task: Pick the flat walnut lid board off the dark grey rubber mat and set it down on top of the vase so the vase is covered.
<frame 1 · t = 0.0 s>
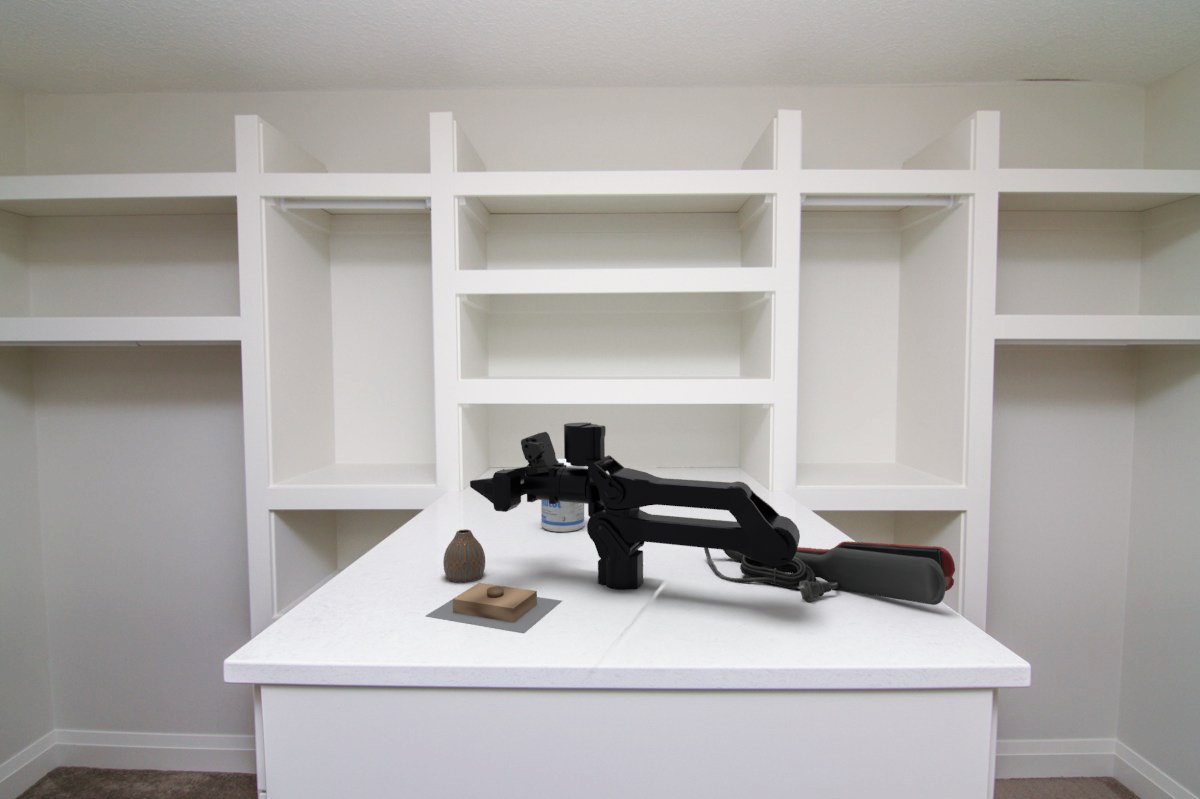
hand: (485, 478, 111), 17 cm above the table, tool horizontal, fingers open, 9 cm apart
supplement tub: (563, 528, 140), on the table
hair straightener: (822, 585, 105), on the table
mat: (495, 614, 93), on the table
vase: (465, 583, 106), on the table
lid: (495, 608, 93), point 1 cm above the table, touching mat
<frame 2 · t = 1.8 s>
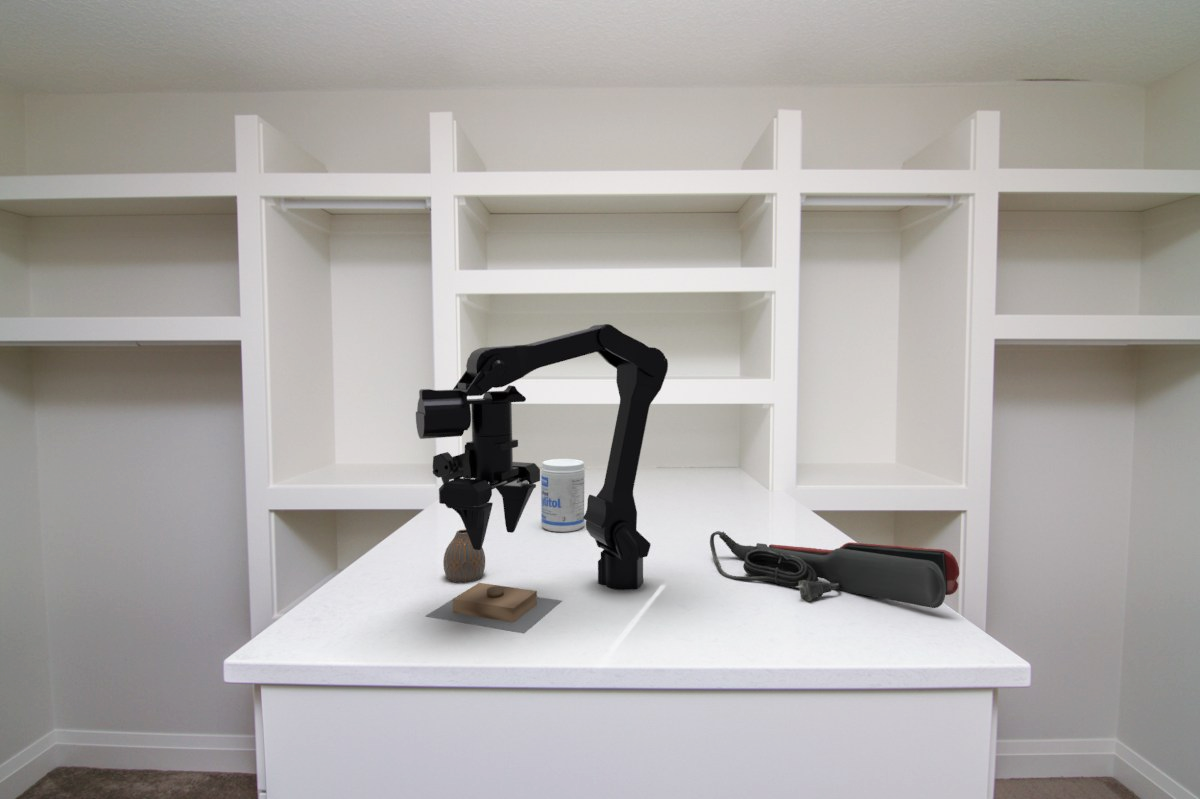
hand: (494, 540, 92), 11 cm above the table, tool pointing down, fingers open, 9 cm apart
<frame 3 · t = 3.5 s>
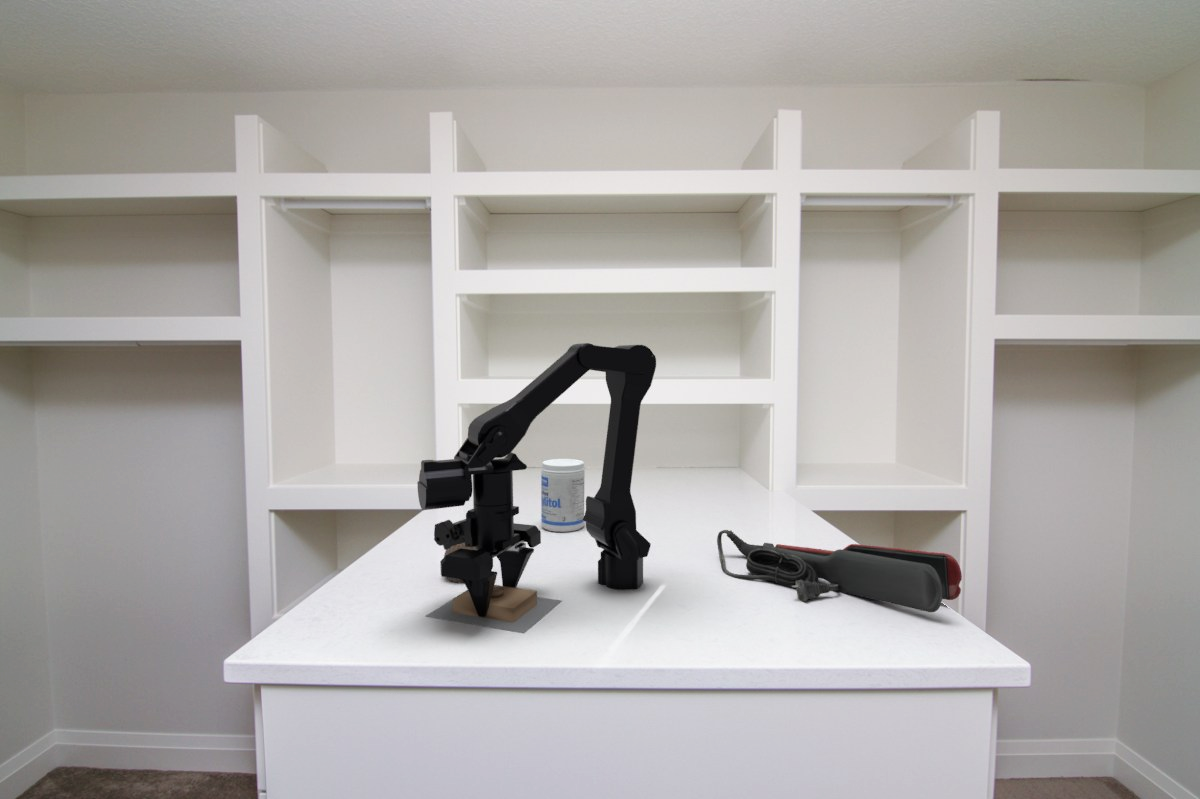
hand: (495, 606, 93), 1 cm above the table, tool pointing down, fingers closed on lid, 7 cm apart
lid: (495, 608, 93), point 1 cm above the table, touching gripper, mat
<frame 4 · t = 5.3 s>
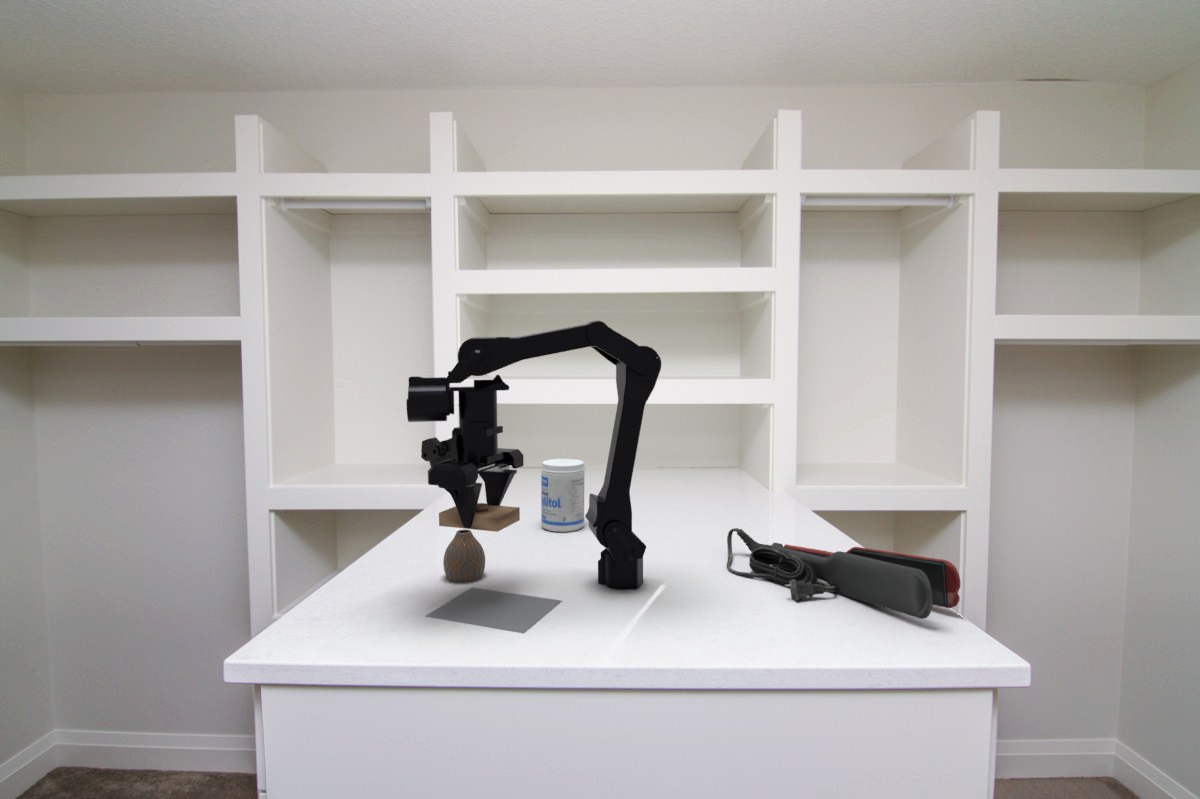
hand: (480, 521, 97), 13 cm above the table, tool pointing down, fingers closed on lid, 7 cm apart
lid: (480, 522, 97), point 12 cm above the table, touching gripper
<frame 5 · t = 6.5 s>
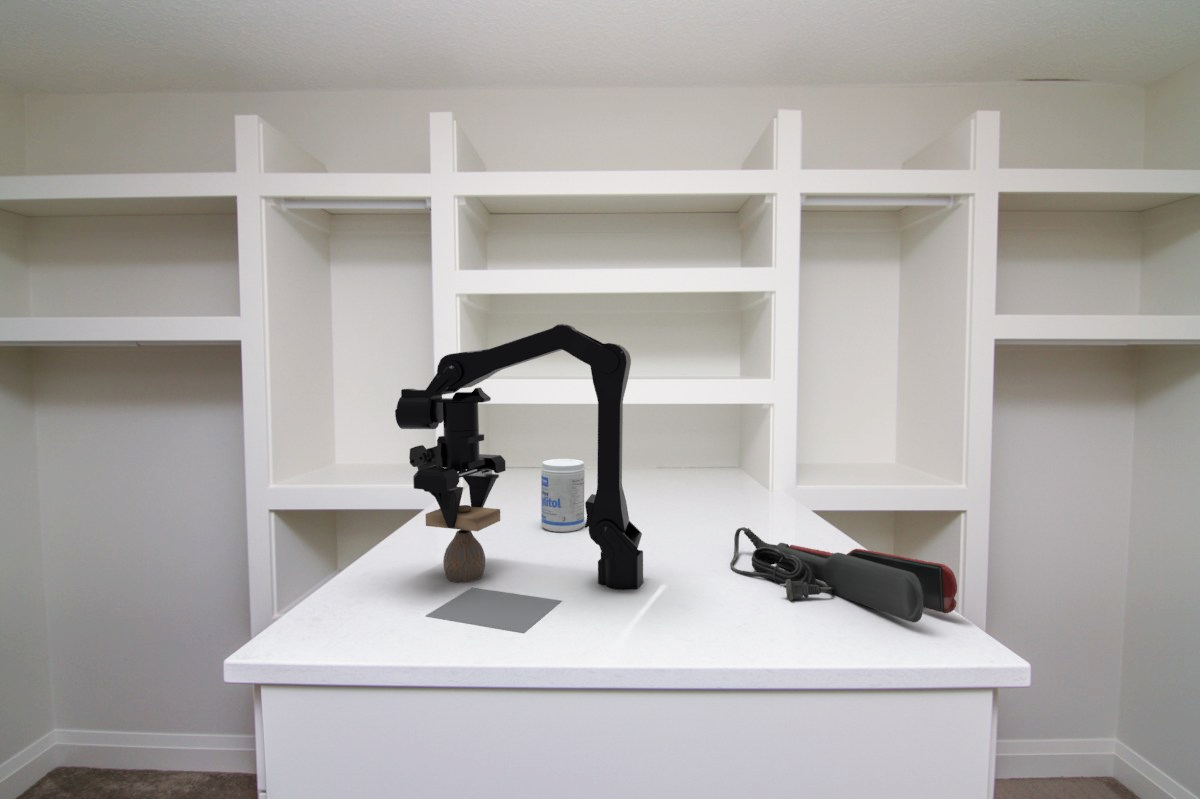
hand: (463, 522, 106), 10 cm above the table, tool pointing down, fingers closed on lid, 7 cm apart
lid: (463, 523, 106), point 10 cm above the table, touching gripper
when the fingers open (10 cm above the table, at t = 7.3 s): lid drops 1 cm, resting on vase.
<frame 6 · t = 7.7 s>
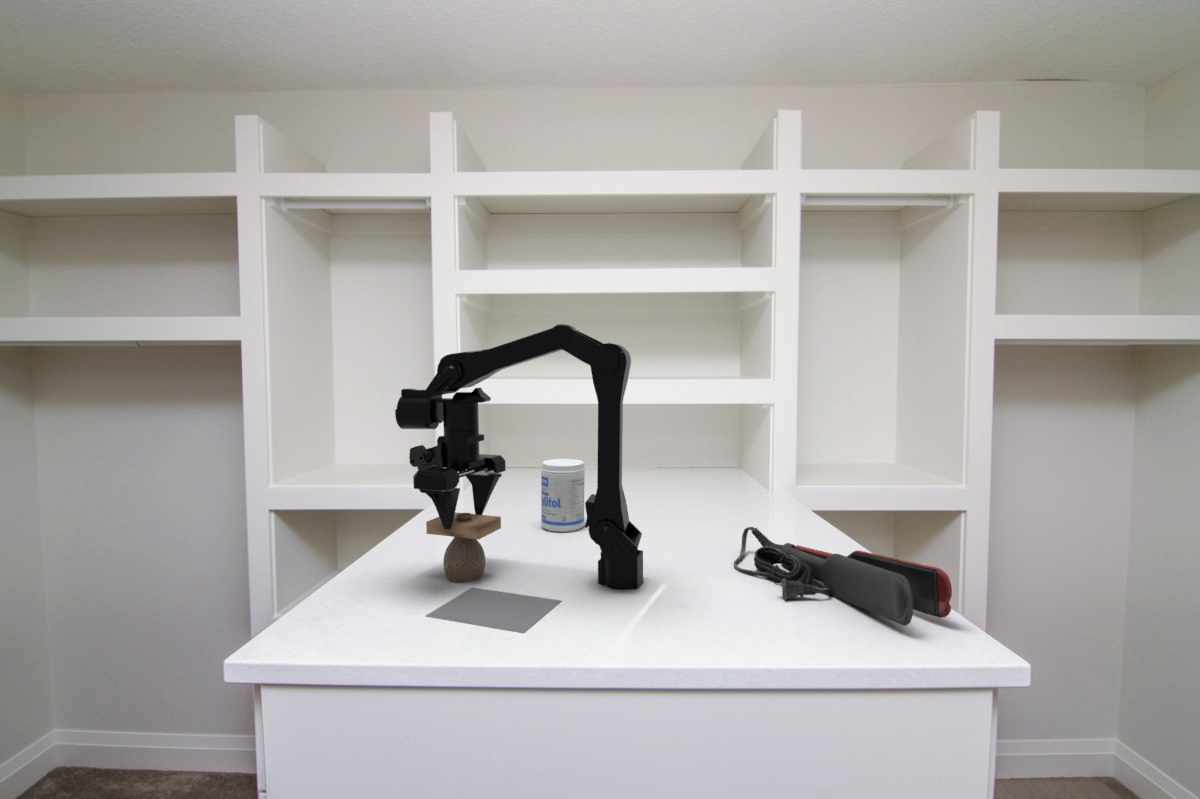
hand: (463, 522, 106), 10 cm above the table, tool pointing down, fingers open, 9 cm apart
vase: (465, 583, 106), on the table, touching lid
lid: (464, 530, 106), point 9 cm above the table, touching vase
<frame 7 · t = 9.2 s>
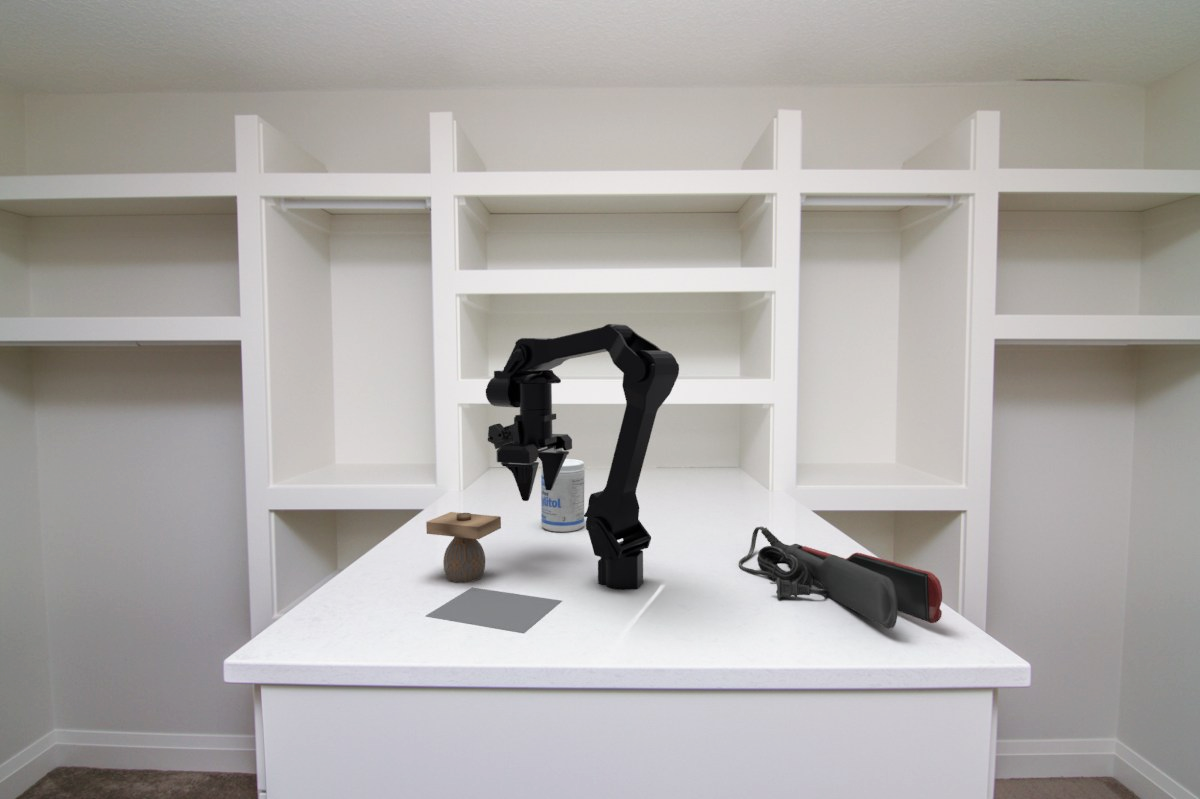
hand: (537, 495, 114), 13 cm above the table, tool pointing down, fingers open, 9 cm apart
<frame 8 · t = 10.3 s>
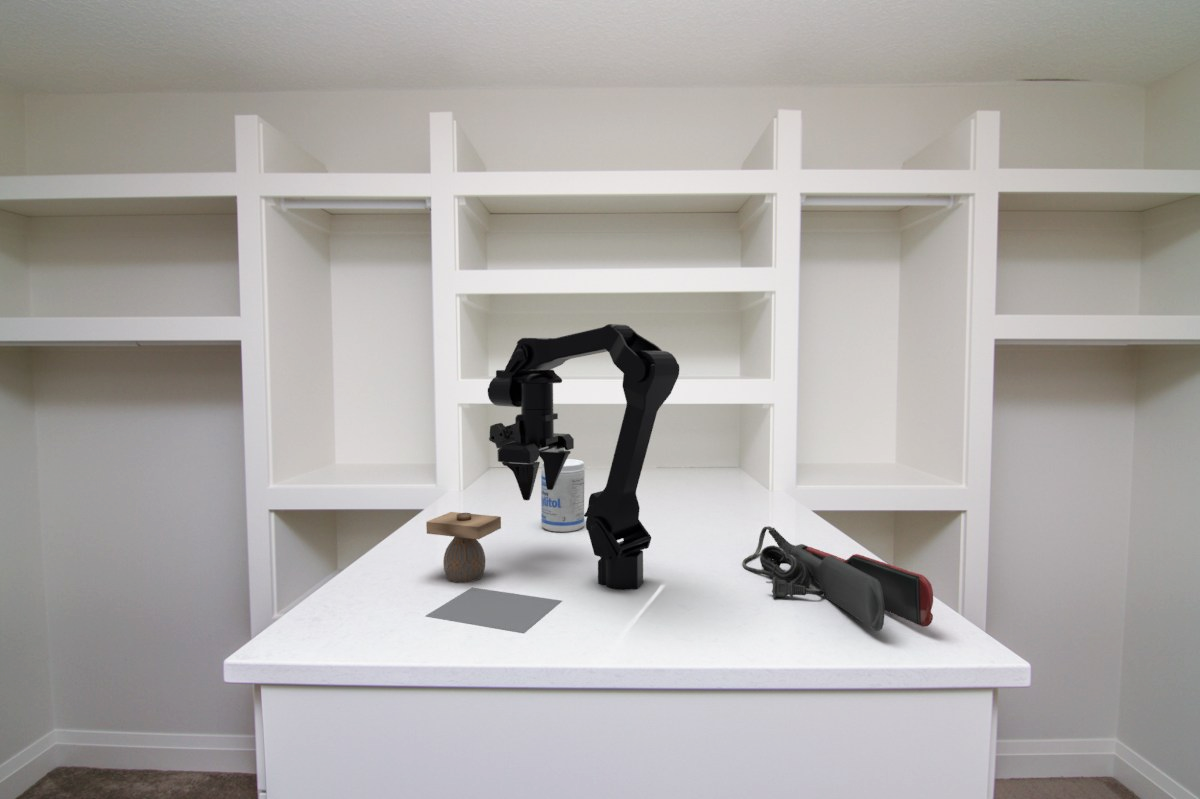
hand: (538, 494, 114), 13 cm above the table, tool pointing down, fingers open, 9 cm apart
at the end: lid 0.2 cm off-centre on the vase, point 9.0 cm above the vase's base; vase tilted 0°; the gripper is holding nothing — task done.
